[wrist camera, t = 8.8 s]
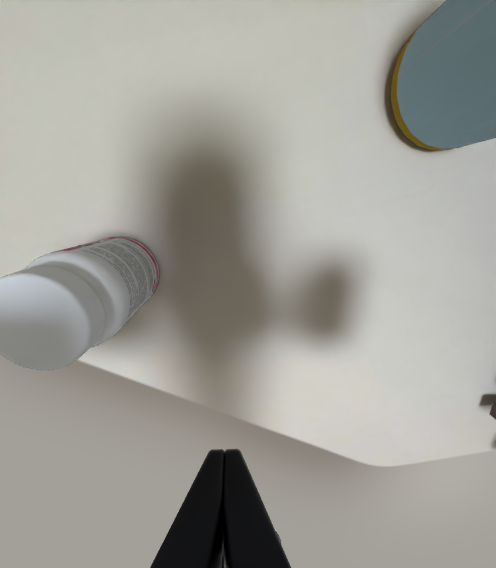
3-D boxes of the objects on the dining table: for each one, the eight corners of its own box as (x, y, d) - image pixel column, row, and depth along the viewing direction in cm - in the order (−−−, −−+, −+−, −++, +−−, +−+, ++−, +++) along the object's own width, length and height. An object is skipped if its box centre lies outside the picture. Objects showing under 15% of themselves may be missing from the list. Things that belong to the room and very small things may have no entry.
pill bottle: (112, 220, 17) (0, 233, 9) (174, 265, 18) (125, 314, 10) (74, 276, 18) (-58, 335, 10) (136, 316, 19) (62, 400, 11)
